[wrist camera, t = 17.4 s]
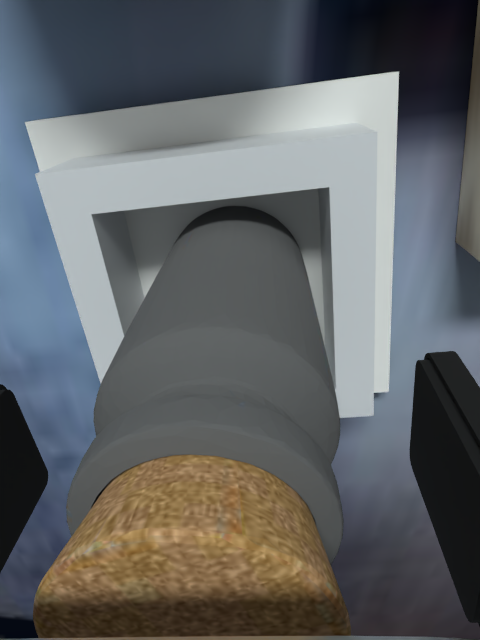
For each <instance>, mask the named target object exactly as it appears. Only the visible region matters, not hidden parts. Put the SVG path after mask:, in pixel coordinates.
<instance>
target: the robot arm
mask: <svg viewBox="0 0 480 640" xmlns="http://www.w3.org/2000/svg"><path fill="white" fill-rule="evenodd" d="M410 461H411V466H412V469H413V472H414V475H415V477H416V480H417V483H418V486H419V488H420V491H421V494H422V497H423V499H424V502H425V505H426V508H427V511H428V513H429V516H430V519H431V522H432V524H433V527H434V530H435V533H436V535H437V538H438V541H439V544H440V546H441V549H442V552H443V555H444V557H445V560H446V563H447V566H448V568H449V571H450V574H451V577H452V579H453V582H454V585H455V588H456V590H457V593H458V596H459V599H460V601H461V604H462V607H463V610H464V612H465V615H466V617H467V619H468V621H469V622H470V623H476V622H478V623H479V626H480V387H479V386H478V384H477V383H476V381H475V380H474V378H473V377H472V375H471V374H470V372H469V371H468V369H467V368H466V366H465V365H464V363H463V362H462V360H461V359H460V357H459V356H458V354H457V353H456V352H454V351H449V352H435V353H427V354H426V355H425V358H424V360H418V361H417V363H416V369H415V383H414V397H413V412H412V426H411V440H410ZM47 481H48V471H47V468H46V466H45V464H44V461H43V459H42V457H41V455H40V452H39V450H38V448H37V446H36V443H35V441H34V439H33V437H32V434H31V432H30V430H29V428H28V425H27V423H26V421H25V419H24V416H23V414H22V412H21V410H20V407H19V405H18V403H17V401H16V398H15V396H14V394H13V392H12V391H10V390H7V389H6V387H5V386H3V385H1V384H0V572H1V570H2V569H3V567H4V565H5V563H6V561H7V559H8V557H9V555H10V553H11V552H12V550H13V548H14V546H15V544H16V542H17V540H18V538H19V536H20V534H21V533H22V531H23V529H24V527H25V525H26V523H27V521H28V519H29V517H30V516H31V514H32V512H33V510H34V508H35V506H36V504H37V502H38V500H39V499H40V497H41V495H42V493H43V491H44V489H45V487H46V485H47ZM0 640H476V639H460V638H444V637H400V636H203V637H106V638H31V639H30V638H29V639H0Z"/></svg>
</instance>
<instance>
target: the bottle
mask: <svg viewBox="0 0 480 640" xmlns="http://www.w3.org/2000/svg"><path fill="white" fill-rule="evenodd" d="M94 426H95V432H96V438H95V439H94V440H93V442H92V443H91V445H90V447H89V448H88V450H87V452H86V453H85V455H84V457H83V458H82V461H81V463H80V465H79V467H78V469H77V472H76V474H75V476H74V478H73V481H72V483H71V487H70V490H69V493H68V499H67V506H66V510H67V523H68V526H69V529H70V533H71V536H72V537H71V538H70V540H69V541H68V543H67V544H66V546H65V547H64V549H63V550H62V551H61V553H60V554H59V556H58V557H57V559H56V560H55V562H54V563H53V565H52V566H51V567H50V569H49V570H48V572H47V573H46V575H45V576H44V578H43V579H42V581H41V583H40V585H39V587H38V590H37V592H36V595H35V601H34V611H33V620H34V624H35V628H36V632H37V634H38V636H39V638H106V637H203V636H351V626H350V620H349V614H348V611H347V608H346V605H345V603H344V600H343V597H342V595H341V592H340V589H339V587H338V584H337V581H336V578H335V576H334V573H333V570H332V568H331V564H332V562H333V560H334V559H335V557H336V555H337V553H338V550H339V546H340V543H341V539H342V536H343V514H342V506H341V500H340V495H339V490H338V485H337V481H336V478H335V475H334V473H333V470H332V467H331V463H332V461H333V459H334V456H335V453H336V450H337V447H338V443H339V437H340V416H339V410H338V403H337V398H336V393H335V388H334V383H333V379H332V375H331V370H330V366H329V362H328V358H327V354H326V350H325V346H324V341H323V337H322V333H321V329H320V325H319V321H318V316H317V312H316V308H315V304H314V300H313V296H312V292H311V287H310V283H309V279H308V275H307V271H306V268H305V264H304V260H303V257H302V253H301V251H300V248H299V246H298V244H297V242H296V240H295V238H294V237H293V235H292V234H291V232H290V231H289V230H288V229H287V228H286V227H285V226H284V225H283V224H282V223H281V222H280V221H279V220H277V219H276V218H275V217H273V216H271V215H269V214H267V213H266V212H264V211H261V210H258V209H255V208H251V207H247V206H225V207H220V208H216V209H213V210H211V211H208V212H206V213H204V214H202V215H200V216H199V217H197V218H196V219H194V220H193V221H192V222H191V223H190V224H189V225H188V226H186V228H185V229H184V230H183V231H182V233H181V234H180V235H179V237H178V238H177V240H176V242H175V243H174V245H173V246H172V248H171V250H170V252H169V254H168V256H167V258H166V259H165V261H164V263H163V265H162V267H161V269H160V271H159V272H158V274H157V276H156V278H155V280H154V282H153V284H152V285H151V287H150V289H149V291H148V293H147V295H146V297H145V298H144V300H143V302H142V304H141V306H140V308H139V310H138V311H137V313H136V315H135V317H134V319H133V321H132V323H131V324H130V326H129V328H128V330H127V332H126V334H125V336H124V338H123V340H122V342H121V344H120V346H119V348H118V350H117V352H116V354H115V356H114V358H113V360H112V362H111V364H110V366H109V368H108V370H107V372H106V374H105V376H104V378H103V380H102V383H101V385H100V388H99V391H98V394H97V399H96V403H95V407H94Z"/></svg>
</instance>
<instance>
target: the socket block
mask: <svg viewBox="0 0 480 640" xmlns="http://www.w3.org/2000/svg"><path fill="white" fill-rule="evenodd" d="M455 242H457V243H458V244H459V245H460V246H461V247H463V248H464V249H465V250H466V251H467V252H469V253H470V254H471V255H472V256H474V257H475V258H476V259H477V260H478V261H480V0H478V11H477V21H476V32H475V42H474V53H473V63H472V74H471V84H470V95H469V105H468V116H467V126H466V137H465V147H464V157H463V168H462V178H461V189H460V199H459V210H458V220H457V231H456V241H455Z"/></svg>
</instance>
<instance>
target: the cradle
mask: <svg viewBox="0 0 480 640" xmlns="http://www.w3.org/2000/svg"><path fill="white" fill-rule="evenodd" d="M398 84H399V72H389V73H381V74H374V75H367V76H359V77H352V78H344V79H337V80H330V81H322V82H315V83H307V84H300V85H292V86H285V87H278V88H270V89H263V90H255V91H248V92H241V93H233V94H226V95H218V96H211V97H204V98H196V99H189V100H181V101H174V102H167V103H159V104H152V105H144V106H137V107H130V108H122V109H115V110H107V111H100V112H93V113H85V114H78V115H70V116H63V117H56V118H48V119H41V120H34V121H29V122H25V124H26V128H27V131H28V134H29V137H30V141H31V144H32V147H33V150H34V154H35V157H36V160H37V163H38V166H39V170H40V172H39V173H36V174H35V176H36V179H37V182H38V186H39V189H40V192H41V195H42V198H43V201H44V205H45V208H46V211H47V214H48V217H49V221H50V224H51V227H52V230H53V233H54V236H55V240H56V243H57V246H58V249H59V252H60V256H61V259H62V262H63V265H64V268H65V271H66V275H67V278H68V281H69V284H70V287H71V291H72V294H73V297H74V300H75V303H76V306H77V310H78V313H79V316H80V319H81V322H82V325H83V329H84V332H85V335H86V338H87V341H88V345H89V348H90V351H91V354H92V357H93V360H94V364H95V367H96V370H97V373H98V376H99V380H100V383H102V380H103V378H104V376H105V374H106V372H107V370H108V368H109V366H110V364H111V362H112V360H113V358H114V356H115V354H116V352H117V350H118V348H119V346H120V344H121V342H122V340H123V338H124V336H125V334H126V332H127V330H128V328H129V326H130V324H131V323H132V321H133V319H134V317H135V315H136V313H137V311H138V310H139V308H140V306H141V304H142V302H143V300H144V298H145V297H146V295H147V293H148V291H149V289H150V287H151V285H152V284H153V282H154V280H155V278H156V276H157V274H158V272H159V271H160V269H161V267H162V265H163V263H164V261H165V259H166V258H167V256H168V254H169V252H170V250H171V248H172V246H173V245H174V243H175V242H176V240H177V238H178V237H179V235H180V234H181V233H182V231H183V230H184V229H185V228H186V226H188V225H189V224H190V223H191V222H192V221H193V220H194V219H196V218H197V217H199V216H200V215H202V214H204V213H206V212H208V211H211V210H213V209H216V208H220V207H225V206H247V207H251V208H255V209H258V210H261V211H264V212H266V213H267V214H269V215H271V216H273V217H275V218H276V219H277V220H279V221H280V222H281V223H282V224H283V225H284V226H285V227H286V228H287V229H288V230H289V231H290V232H291V234H292V235H293V237H294V238H295V240H296V242H297V244H298V246H299V248H300V251H301V253H302V257H303V260H304V264H305V268H306V271H307V275H308V279H309V283H310V287H311V292H312V296H313V300H314V304H315V308H316V312H317V316H318V321H319V325H320V329H321V333H322V337H323V341H324V346H325V350H326V354H327V358H328V362H329V366H330V370H331V375H332V379H333V383H334V388H335V393H336V398H337V403H338V410H339V416H340V418H348V417H362V416H374V393H379V392H389V367H390V335H391V304H392V272H393V241H394V210H395V178H396V147H397V115H398Z"/></svg>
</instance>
